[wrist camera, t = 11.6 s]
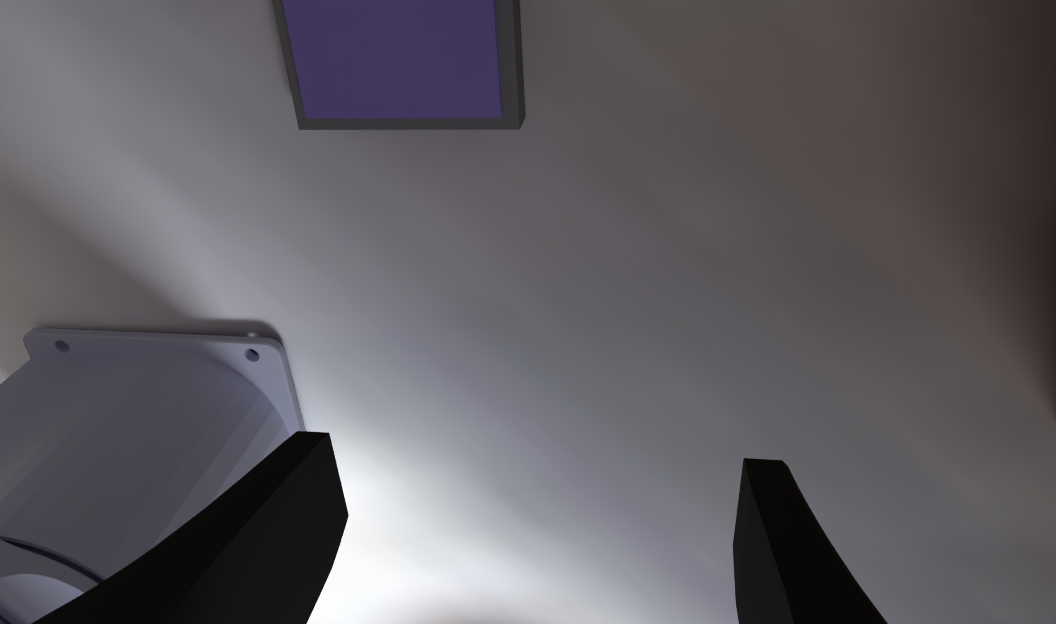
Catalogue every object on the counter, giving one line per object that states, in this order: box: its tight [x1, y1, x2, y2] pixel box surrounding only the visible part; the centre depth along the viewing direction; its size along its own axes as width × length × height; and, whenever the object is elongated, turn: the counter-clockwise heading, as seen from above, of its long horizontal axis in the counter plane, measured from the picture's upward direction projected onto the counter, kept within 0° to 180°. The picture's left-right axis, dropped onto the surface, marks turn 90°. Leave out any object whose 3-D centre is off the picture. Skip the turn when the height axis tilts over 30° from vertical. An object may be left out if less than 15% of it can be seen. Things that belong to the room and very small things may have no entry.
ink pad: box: [272, 0, 525, 130], centre depth 20 cm, size 6×4×1 cm
